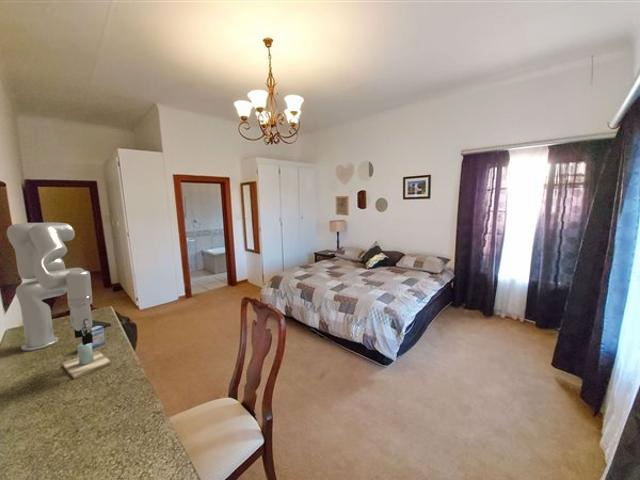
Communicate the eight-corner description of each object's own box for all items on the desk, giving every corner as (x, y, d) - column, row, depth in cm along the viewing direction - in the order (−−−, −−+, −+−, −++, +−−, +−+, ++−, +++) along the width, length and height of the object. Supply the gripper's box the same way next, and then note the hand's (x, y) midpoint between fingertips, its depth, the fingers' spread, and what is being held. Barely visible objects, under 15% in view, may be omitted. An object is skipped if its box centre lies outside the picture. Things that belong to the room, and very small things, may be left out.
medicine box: (88, 351, 124) (86, 333, 123) (80, 350, 125) (79, 332, 124) (105, 342, 132) (103, 326, 131) (97, 342, 133) (96, 325, 132)
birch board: (62, 365, 112) (62, 363, 112) (98, 353, 122) (97, 350, 122) (74, 378, 103) (73, 376, 103) (111, 364, 113) (111, 361, 113)
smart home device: (87, 319, 159) (111, 323, 152) (88, 321, 159) (112, 326, 153) (71, 324, 151) (95, 329, 145) (71, 327, 151) (96, 332, 145)
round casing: (77, 363, 112) (75, 345, 111) (91, 358, 116) (89, 340, 115) (81, 366, 110) (78, 348, 109) (95, 361, 113) (92, 343, 112)
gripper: (62, 298, 112) (65, 337, 114) (74, 308, 102) (78, 350, 104) (85, 294, 118) (88, 331, 120) (99, 302, 108) (102, 342, 110)
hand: (83, 340), depth 112 cm, fingers open, 9 cm apart
